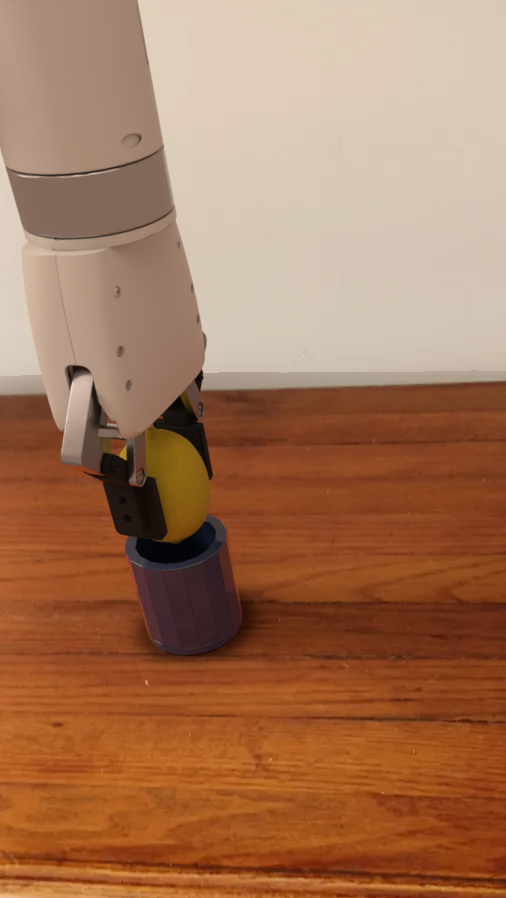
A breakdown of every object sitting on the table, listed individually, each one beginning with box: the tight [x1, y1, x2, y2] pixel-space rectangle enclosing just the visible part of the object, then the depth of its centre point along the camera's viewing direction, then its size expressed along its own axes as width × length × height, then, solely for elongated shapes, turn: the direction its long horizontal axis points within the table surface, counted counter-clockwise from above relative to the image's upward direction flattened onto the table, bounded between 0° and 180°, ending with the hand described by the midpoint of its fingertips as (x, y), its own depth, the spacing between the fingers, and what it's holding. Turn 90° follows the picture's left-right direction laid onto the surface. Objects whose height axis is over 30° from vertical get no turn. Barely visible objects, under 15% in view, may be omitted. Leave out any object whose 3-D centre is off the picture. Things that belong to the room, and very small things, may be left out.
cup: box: [123, 513, 244, 656], centre depth 63 cm, size 6×6×7 cm
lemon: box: [118, 426, 212, 544], centre depth 58 cm, size 6×6×8 cm
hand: (166, 503), depth 59 cm, fingers closed on lemon, 5 cm apart
